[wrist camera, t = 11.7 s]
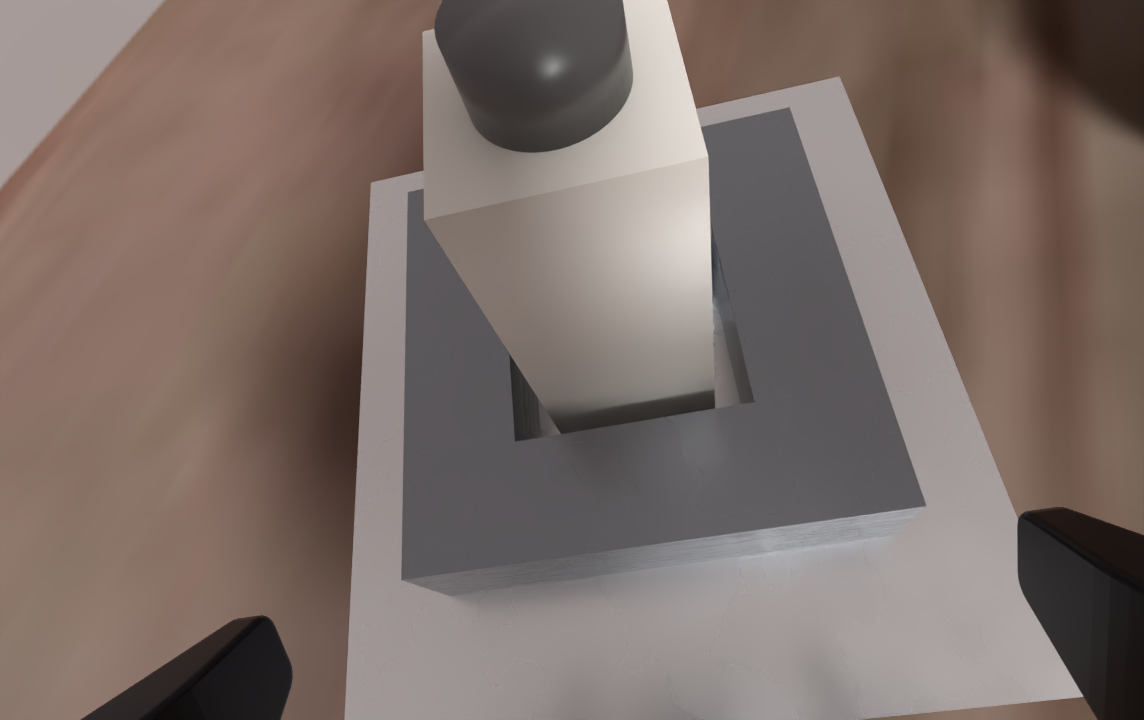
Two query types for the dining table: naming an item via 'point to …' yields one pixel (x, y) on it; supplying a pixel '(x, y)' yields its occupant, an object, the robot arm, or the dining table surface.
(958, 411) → the grey square frame
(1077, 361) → the dining table surface
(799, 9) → the dining table surface
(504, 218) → the plug
